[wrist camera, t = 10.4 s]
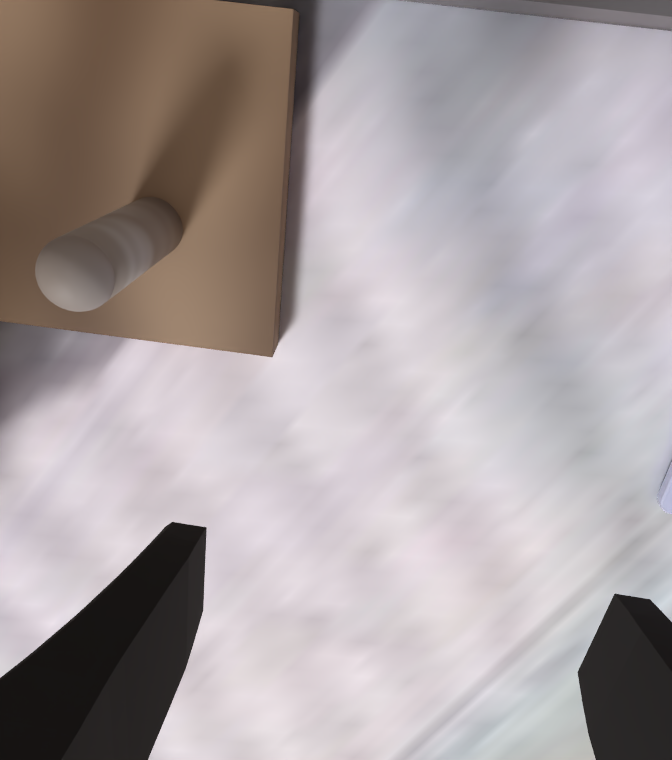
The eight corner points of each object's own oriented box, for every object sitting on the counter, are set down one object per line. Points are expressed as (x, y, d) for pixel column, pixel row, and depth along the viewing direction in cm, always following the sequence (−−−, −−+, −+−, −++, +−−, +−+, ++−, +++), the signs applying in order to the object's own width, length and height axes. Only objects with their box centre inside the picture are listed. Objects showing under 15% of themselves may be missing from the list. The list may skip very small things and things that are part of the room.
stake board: (299, 13, 15) (241, -26, 9) (278, 343, 19) (228, 455, 13) (-91, -32, 15) (-373, -95, 10) (-30, 303, 19) (-203, 395, 14)
